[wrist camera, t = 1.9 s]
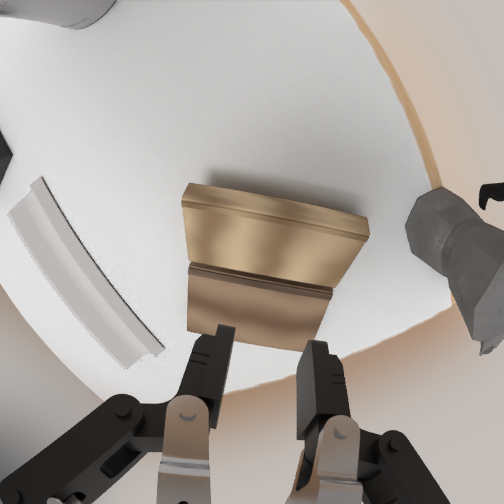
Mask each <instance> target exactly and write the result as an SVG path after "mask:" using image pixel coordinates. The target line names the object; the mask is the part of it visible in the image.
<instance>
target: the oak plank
mask: <svg viewBox="0 0 504 504" xmlns="http://www.w3.org/2000/svg"><path fill="white" fill-rule="evenodd" d="M181 203H182V207H183V216H184V225H185V233H186V242H187V250H188V258H189V261H193V262H198V263H203V264H208V265H213V266H218V267H223V268H229V269H234V270H239V271H244V272H250V273H255V274H260V275H266V276H271V277H276V278H282V279H287V280H293V281H299V282H304V283H310V284H316V285H321V286H327V287H333V288H336V286H337V285H338V283H339V282H340V280H341V279H342V277H343V276H344V274H345V273H346V271H347V270H348V268H349V267H350V265H351V264H352V262H353V261H354V259H355V257H356V256H357V254H358V253H359V251H360V250H361V248H362V246H363V245H364V243H365V242H367V240H368V238H369V235H370V231H369V225H368V219H367V217H363V216H359V215H355V214H351V213H346V212H342V211H338V210H333V209H329V208H325V207H320V206H315V205H311V204H306V203H301V202H297V201H292V200H287V199H282V198H276V197H271V196H266V195H261V194H255V193H250V192H244V191H238V190H232V189H226V188H220V187H214V186H207V185H201V184H194V183H189V184H188V186H187V188H186V190H185V192H184V194H183V196H182V201H181Z"/></svg>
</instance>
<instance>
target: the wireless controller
mask: <svg viewBox="0 0 504 504" xmlns="http://www.w3.org/2000/svg"><path fill="white" fill-rule="evenodd" d="M12 156H13V154H12V152H11V151H10V149H9V147H8V145H7V143H6V141H5V139H4V138H3V136H2V134H1V132H0V184H1V182H2V179H3V177H4V174H5V172H6V170H7V167H8V165H9V163H10V160H11V158H12Z"/></svg>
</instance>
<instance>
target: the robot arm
mask: <svg viewBox="0 0 504 504" xmlns="http://www.w3.org/2000/svg"><path fill="white" fill-rule="evenodd" d="M114 2H115V0H0V16H1V17H11V18H19V19H26V20H33V21H38V22H44V23H49V24H54V25H59V26H62V27H67V28H71V29H80V28H84V27H86V26H89V25H90V24H92V23H94V22H95V21H97V20H98V19H99V18H101V17H102V16H103V15H104V14H105V13H106V12H107V11H108V10H109V8H110V7H111V6H112V5H113V3H114ZM235 330H236V327H232V326H227V325H222V324H218V327H217V330H216V334H215V336H213V335H208V334H204V333H203V334H202V335H201V336H200V337H199V338H198V339H197V340H196V341H195V344H194V346H193V349H192V353H191V355H190V358H189V361H188V364H187V367H186V370H185V372H184V375H183V378H182V381H181V384H180V387H179V390H178V392H177V394H176V395H175V396H174V397H173V398H172V399H171V400H169V401H167V402H164V403H159V404H142V403H140V402H139V401H138V400H137V399H136V398H134V397H133V396H130V395H127V394H117V395H114V396H112V397H110V398H109V399H107V400H106V401H105V402H104V403H102V404H101V405H100V406H99V407H97V408H96V409H95V410H94V411H92V412H91V413H90V414H89V415H87V416H86V417H85V418H84V419H82V420H81V421H80V422H78V423H77V424H76V425H75V426H73V427H72V428H71V429H70V430H68V431H67V432H66V433H64V434H63V435H62V436H61V437H59V438H58V439H57V440H55V441H54V442H53V443H52V444H50V445H49V446H47V447H46V448H45V449H44V450H42V451H41V452H40V453H38V454H37V455H36V456H34V457H33V458H32V459H30V460H29V461H28V462H26V463H25V464H24V465H22V466H21V467H20V468H19V469H17V470H16V471H14V472H13V473H12V474H10V475H9V476H7V477H6V478H5V479H3V480H2V481H1V483H0V498H1V501H2V502H3V504H91V503H93V502H94V501H95V500H96V499H97V498H99V497H100V496H101V495H102V494H103V493H104V492H106V491H107V490H108V489H109V488H110V487H111V486H112V485H113V484H114V483H116V482H117V481H118V480H119V479H120V478H121V477H122V476H123V475H124V474H125V473H126V472H128V471H129V470H130V469H131V468H132V467H133V466H134V465H135V464H136V463H137V462H138V461H139V460H140V459H142V457H144V456H145V455H146V454H147V453H148V452H162V460H161V462H160V465H159V471H158V485H157V504H211V493H210V492H211V491H210V468H209V433H210V428H213V429H216V426H217V422H218V417H219V412H220V407H221V402H222V397H223V393H224V388H225V383H226V378H227V373H228V368H229V363H230V358H231V353H232V347H233V342H234V336H235ZM296 380H297V440H305V448H304V449H303V450H302V452H301V456H300V460H299V464H298V469H297V472H296V477H295V480H294V484H293V488H292V491H291V494H290V496H289V497H288V499H287V501H286V503H285V504H361V502H363V503H364V504H450V502H449V500H448V499H447V497H446V496H445V494H444V493H443V491H442V490H441V488H440V487H439V485H438V484H437V482H436V480H435V479H434V478H433V476H432V474H431V473H430V471H429V470H428V468H427V467H426V465H425V464H424V463H423V461H422V460H421V458H420V456H419V455H418V454H417V452H416V451H415V449H414V447H413V446H412V445H411V443H410V442H409V440H408V439H407V437H406V436H405V435H404V434H403V433H401V432H399V431H396V430H390V431H387V432H385V433H384V434H383V435H378V434H375V433H371V432H368V431H365V430H362V429H360V428H359V426H358V424H357V423H356V422H355V421H354V420H353V419H352V418H351V415H350V409H349V402H348V396H347V389H346V385H345V377H344V371H343V365H342V363H341V362H340V360H339V358H338V357H337V355H332V354H329V350H328V344H327V342H325V341H317V340H308V342H307V344H306V347H305V349H304V351H303V354H302V356H301V358H300V361H299V363H298V367H297V374H296Z"/></svg>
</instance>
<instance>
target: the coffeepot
mask: <svg viewBox="0 0 504 504" xmlns="http://www.w3.org/2000/svg"><path fill="white" fill-rule="evenodd" d="M489 198H492V199H493V200H496V201H504V182H503V183H493V184H484V185H482V186H481V188H480V193H479V206H480V208H481V209H483V210H485V208H486V204H487V201H488V199H489ZM405 228H406V231H407V237H408V241H409V244H410V247H411V251H412V253H413V254H414V255H416V256H417V257H418V258H420V259H421V260H422V261H424V262H425V263H427V264H428V265H429V266H431V267H432V268H433V269H435V270H436V271H437V272H439V273H440V274H442V275H443V276H445V277H447V278H448V283H449V288H450V290H451V292H452V294H453V296H454V298H455V301H456V303H457V305H458V307H459V309H460V312H461V314H462V316H463V318H464V321H465V323H466V325H467V328H468V330H469V333H470V335H471V338H472V340H476V341H480V342H481V350H480V356H481V355H482V354H488V353H490V352H492V350H493V349H494V348H496V347H497V346H498V345H499V344H500V342H501V341H502V340H503V339H504V231H503V230H501V229H499V228H496V227H494V226H492V225H490V224H487V223H485V222H484V221H483V220H482V219H481V218H480V216H479V215H478V214H477V213H476V212H475V211H474V210H473V209H472V208H471V207H470V206H469V205H468V204H467V203H466V202H465V201H464V200H463V199H462V198H460V197H459V196H457V195H456V194H454V193H452V192H451V191H449V190H448V189H446V188H444V187H441V188H439V189H436V190H433V191H430V192H428V193H427V194H425V195H423V196H422V197H420V198H418V200H417V202H416V203H415V205H414V207H413V209H412V210H411V213H410V215H409V218H408V222H407V224H406V226H405Z"/></svg>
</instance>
